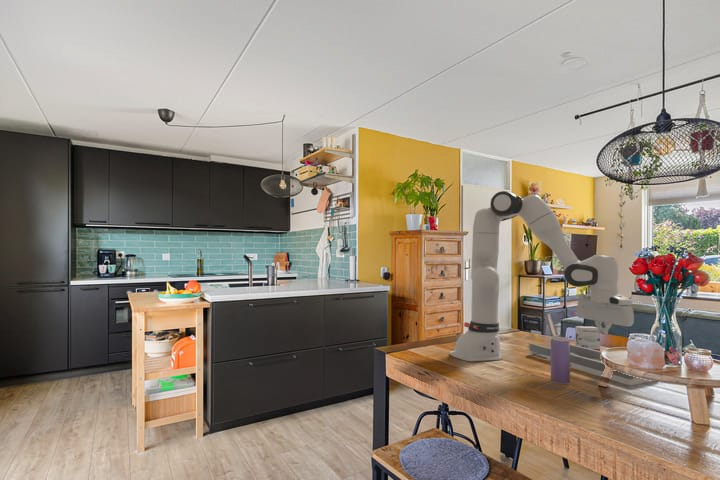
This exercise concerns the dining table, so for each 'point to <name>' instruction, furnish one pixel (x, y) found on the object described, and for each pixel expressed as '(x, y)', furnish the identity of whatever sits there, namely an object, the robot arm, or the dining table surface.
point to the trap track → (585, 362)
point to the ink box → (587, 337)
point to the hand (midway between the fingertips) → (602, 333)
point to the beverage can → (560, 360)
